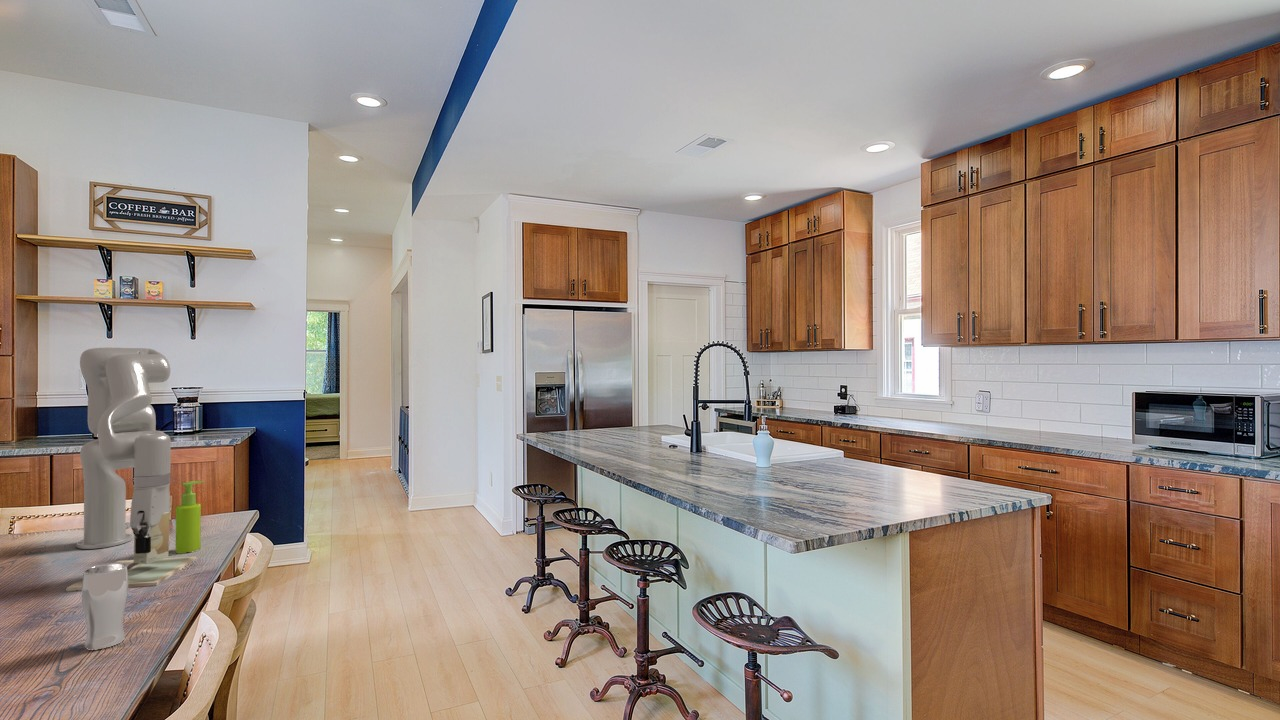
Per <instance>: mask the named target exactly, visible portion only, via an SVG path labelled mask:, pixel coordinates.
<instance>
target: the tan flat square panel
mask: <svg viewBox="0 0 1280 720" xmlns="http://www.w3.org/2000/svg"><path fill="white" fill-rule="evenodd" d="M195 559H196V560H197V556H187V557H186V556H185V557H167V558H164V559H161V560H158V561H154V562H151V563H148V564H142V563H134V559H130V560H116V561H115V562H114V563H126V564H127V571H128V588H139V587H154V586H159V585H160V584H161V583H163V582H165V581H166V580H168V579H169V578H170V577H173V576H174V575H176V574H177V573H178V572H180V571H181V570H183V569H184V568H186V567H187V566H189V565H190V564H192V563H193V562H195V561H196V560H195ZM194 560H195V561H194ZM192 561H193V562H192ZM191 562H192V563H191ZM188 564H189V565H188ZM185 566H186V567H185ZM182 568H183V569H182ZM179 570H180V571H179ZM176 572H177V573H176ZM82 581H83V578H82V579H80V580H79V581H78V582H75V583H73V584H71V585H70V586H67V587H66V588H65V589H66V592H73V591H75V592H76V590H78V591H82Z"/></svg>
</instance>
